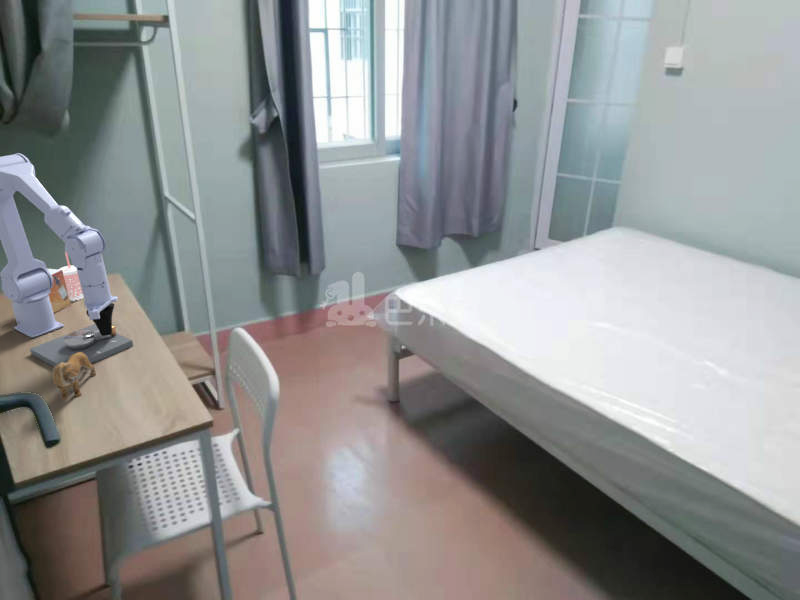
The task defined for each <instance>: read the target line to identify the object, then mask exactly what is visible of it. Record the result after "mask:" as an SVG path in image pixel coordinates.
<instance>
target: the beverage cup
mask: <svg viewBox="0 0 800 600" xmlns="http://www.w3.org/2000/svg"><path fill="white" fill-rule="evenodd" d="M64 255H65V258H66V263H67V265H65V266H61V267H60V268H59V270H62V271H63V275H64V279H65V283H66V287H67V291H68V295H69V299H70V300H71V301H70V302H76V301H75V300H78V301H80V300H79V299H81V300H83V299H82V298H84V296H83V293H82V289H81V285H80V281H79V277H78V273H77V269H76V267H74V265H73V264H72V265H71V264H70V259H69V256H68V254H67V253H66V251H64Z"/></svg>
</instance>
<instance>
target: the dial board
mask: <svg viewBox="0 0 800 600" xmlns="http://www.w3.org/2000/svg"><path fill="white" fill-rule="evenodd" d="M79 330H92V331H95V330H98V328H97V326H96V324H95V323H93V324H91V325H89V326H86V327H83V328H81V329H78V330H77V331H79ZM68 334H69V333H68ZM68 334H64V335H62V336H59V337H57V338H54V339H52V340H49V341H47V342H44V343H42V344H41V343H40V344H39V345H36V346H33V347H31V348H29V351H30V355H32V356H34V357H36V358H37V359H39V360H41V361H43V362H44V363H47V364H48V365H50V366H52V367H55V365H57V364H58V363H62V362H64V363H67V362H68V360H69V358H70V356H71V355H73V354H76V353H78V352H82V353H84V354H86V356H87V357H88V360H89V362H90V364H92V365H93V364H95V363H97V362H99V361H101V359H102V360H104V359H106V358H109V357H110V356H113V355H116V354H117V353H120V352H123V351H124V350H126V349H129V348H131V347H133V346H134V343H133V340H132V339H131V338H128V337H125V336H123V335H122V334H119V333H117V334H116V335H115V336H111V337H107V338H104V339H100V340H96V343H95V344H93V345H92V346H90V347H87V348H84V349H79V350H71V349H68V348H67V347H66V344H65V340H64V338H65V336H67V335H68ZM94 362H95V363H94ZM81 369H84V367H81Z"/></svg>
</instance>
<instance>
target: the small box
mask: <svg viewBox="0 0 800 600" xmlns="http://www.w3.org/2000/svg"><path fill="white" fill-rule="evenodd" d="M47 269H48V271H49V272H50V274H51V275H52V278H53V287H52V288H51V289H50V291H51V293H49V294H48V295H49V299H50V302H51V306H52V310H53V313H54V314H55V313H56V312H59V311H60V310H62V309H64V308H66V307H68V306H71V301H70V299H69V295H68V291H67V287H66V283H65V279H64V275H63V271H62V270H59V269H60V268H59V269H56V268H47Z"/></svg>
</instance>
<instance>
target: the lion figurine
mask: <svg viewBox="0 0 800 600" xmlns="http://www.w3.org/2000/svg"><path fill="white" fill-rule="evenodd" d="M52 367H53V366H52ZM81 367H83V368H84V370H85V371H88V370H90V373H89V375H90V377H93V376H96V374H97V372H96V369H95V366H94V365H93V363H92V364H90V362H89V360H88V357H87V356H86V354H84V353H82V352H78V353H76V354H73V355H71V356H70V358H69V360H68V362H67V363H64V362H62V363H58V364H57V365H55V367H53V368H52V370H51V379H52V380H51V381H52V382H53V384H54V386H56V387H57V388H58V389H59V390H60V392H61V394H62V395H60V399H61V400H65V399H67V397H68V393H67V389H69V388H71V387H72V388H73V394H74V396H75V397H77V396H78V397H81V396H82V392H81V391H80V388H79V377H80V372H81V369H82V368H81Z"/></svg>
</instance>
